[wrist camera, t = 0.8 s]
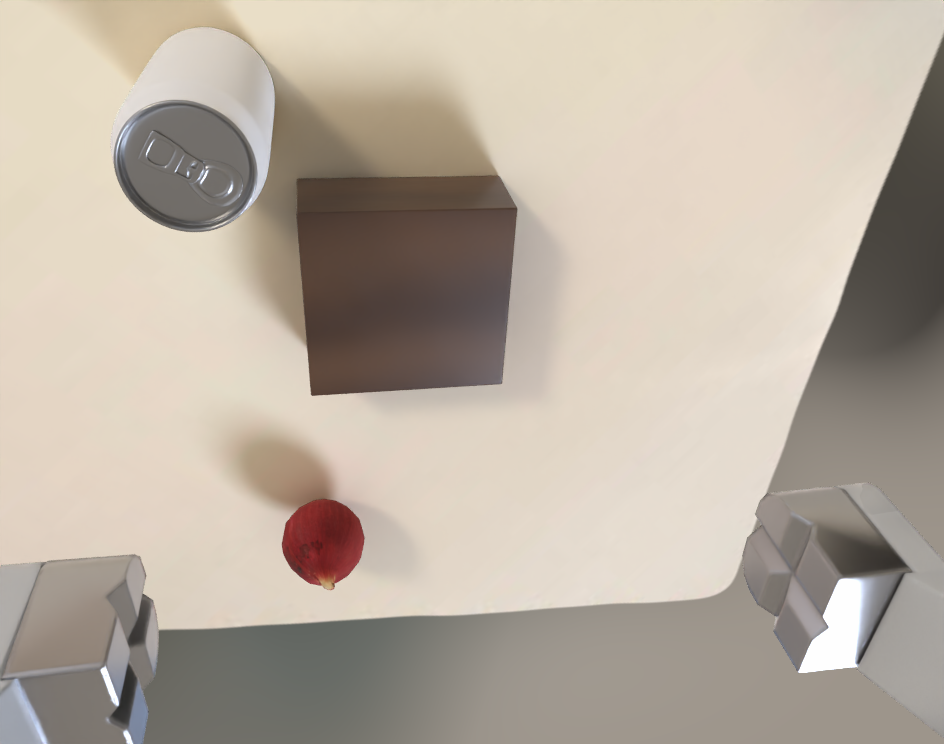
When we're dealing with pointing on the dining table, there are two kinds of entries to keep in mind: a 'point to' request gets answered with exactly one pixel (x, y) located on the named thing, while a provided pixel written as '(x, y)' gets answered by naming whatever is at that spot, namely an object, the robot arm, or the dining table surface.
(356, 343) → the brown square block
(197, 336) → the dining table surface
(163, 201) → the can
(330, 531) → the onion
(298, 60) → the dining table surface
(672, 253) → the dining table surface
